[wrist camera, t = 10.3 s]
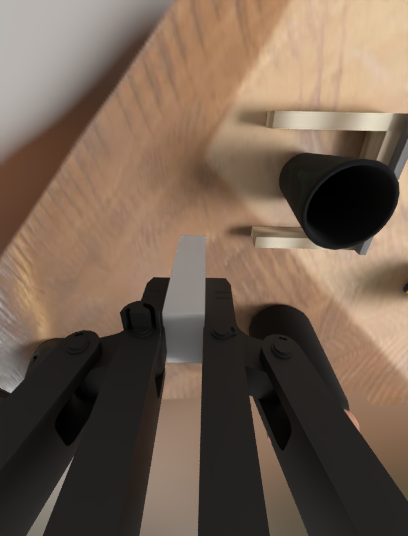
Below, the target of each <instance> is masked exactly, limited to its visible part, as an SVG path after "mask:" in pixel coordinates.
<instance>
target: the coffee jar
mask: <svg viewBox="0 0 408 536" xmlns="http://www.w3.org/2000/svg"><path fill="white" fill-rule="evenodd" d="M272 334H280V335H284V336H287V337H289V338H291V339H293V340H294V341H295V342H296V343H297V344H298V345H299V346H300V347H301V349H302V350H303V352H304V353H305V355H306V356H307V358H308V359H309V360H310V362H311V363H312V365H313V366H314V368H315V369H316V370H317V372H318V373H319V375H320V376H321V378H322V379H323V380H324V382H325V383H326V385H327V386H328V388H329V389H330V391H331V392H332V393H333V395H334V396H335V398H336V399H337V401H338V402H339V403H340V405H341V406H342V408H343V409H344V411H345V412H346V413H347V415H348V416H349V418H350V419H351V421H352V422H353V424H354V425H355V426H356V428H357V429H358V431H359V424H358V422H357V420H356V418H355V417H354V416H353V415H352V414H351V413H350V412H349V405H348V401H347V398H346V396H345V394H344V392H343V390H342V388H341V386H340V384H339V381H338V379H337V377H336V375H335V373H334V371H333V369H332V367H331V365H330V363H329V361H328V358H327V356H326V354H325V352H324V350H323V348H322V346H321V344H320V342H319V340H318V338H317V335H316V333H315V331H314V329H313V327H312V325H311V323H310V321H309V319H308V318H307V316H306V315H305V314H304V313H303V312H301V311H299V310H297V309H296V308H293V307H290V306H285V305H281V306H273V307H269V308H266V309H265V310H263V311H261V312H260V313H259V314H258V315H257V316H256V317H255V318H254V319H253V321H252V323H251V325H250V327H249V336H250V337H253V338H256V339H260V340H264V339H265V338H266V337H267V336H270V335H272ZM359 432H360V431H359ZM267 438H268V440H269V441H270V439H269V436H268V434H267ZM270 443H271V441H270Z"/></svg>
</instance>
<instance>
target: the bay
mask: <svg viewBox="0 0 408 536" xmlns="http://www.w3.org/2000/svg"><path fill="white" fill-rule="evenodd" d="M266 127H268V128H272V129H315V130H360V131H367V134H366V137H365V140H364V143H363V146H362V149H361V152H360V155H359V158H363V159H371V160H377V161H380V162H382V163H384V164H386V165H388V166H389V167H390V169H391V170H392V171H393V172H394V173H395V175H396V177H397V180H398V179H399V177H400V175H401V172H402V170H403V168H404V166H405V163H406V161H407V159H408V114H402V113H355V112H308V111H268V114H267V121H266ZM251 238H252V241H253V244H254V247H260V248H296V249H325V248H322V247H320V246H317V245H315V244H314V243H313V242H312V241H310V240H309V239H308V237H307V236H306V234H305V233H304V231H303V229H302V228H299V227H261V226H252V232H251ZM372 239H373V237H371V238H370V239H368V240H367V241H365V242H363V243H361V244H359V245H357V246H354V247H350V248H346V249H338V250H355V251H356V252H357V253H358V254H359V255H366V253H367V250H368V248H369V246H370V243H371V241H372Z"/></svg>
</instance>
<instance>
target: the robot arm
mask: <svg viewBox="0 0 408 536" xmlns="http://www.w3.org/2000/svg"><path fill="white" fill-rule="evenodd" d="M205 270H206V236H192V235H180V239H179V243H178V247H177V252H176V256H175V260H174V264H173V269H172V273H171V277H170V278H160V277H153V278H152V279H151V280H150V281H149V282H148V283H147V285H146V288H145V292H144V293H143V296H142V299H141V301H136V302H133V303H130V304H128V305H127V306H125V307H124V308H123V309H122V310H121V312H120V315H121V319H122V324H123V328H124V330H123V331H122V332H120V333H117V334H114V335H110V336H106V337H102V338H99V337H98V335H97V334H96V333H95V332H93V331H86V330H83V331H79V332H75V333H73V334H71V335H69V336H67V337H66V338H65V339H53V340H49V341H46V342H44V343H42V344H41V345H40V346H39V347H38V348H37V350H36V351H35V353H34V354H33V355H32V357H31V359H30V363H29V366H28V369H27V372H26V375H25V378H24V380H23V381H22V382H21V383H20V384H19V385H18V387H17V388H16V389H15V390H14V391H13V392H12V393H9V392H7V391H5V390H3V389H1V388H0V536H26V535H27V533H28V531H29V530H30V528H31V526H32V525H33V523H34V522H35V520H36V518H37V517H38V515H39V513H40V512H41V510H42V508H43V506H44V505H45V503H46V502H47V500H48V498H49V497H50V495H51V493H52V491H53V490H54V488H55V487H56V485H57V483H58V482H59V480H60V478H61V477H62V475H63V473H64V472H65V470H66V468H67V467H68V465H69V463H70V462H71V460H72V458H73V457H74V458H73V460H72V463H71V465H70V468H69V470H68V473H67V475H66V478H65V481H64V483H63V485H62V488H61V491H60V493H59V496H58V499H57V501H56V503H55V506H54V508H53V511H52V514H51V516H50V519H49V521H48V524H47V526H46V529H45V531H44V534H43V536H139V534H140V528H141V522H142V516H143V510H144V504H145V497H146V491H147V485H148V478H149V473H150V467H151V460H152V454H153V448H154V442H155V435H156V429H157V423H158V417H159V411H160V404H161V399H162V393H163V386H164V380H165V361H166V358H167V362H171V363H202V397H201V399H202V400H201V437H200V477H199V479H200V480H199V515H198V516H199V517H198V536H270V534H269V527H268V521H267V514H266V508H265V500H264V494H263V486H262V480H261V473H260V466H259V459H258V452H257V445H256V439H255V432H254V426H253V418H252V411H251V404H250V398H249V395H250V396H253V399H254V401H255V404H256V406H257V409H258V411H259V414H260V416H261V419H262V421H263V424H264V426H265V428H266V431H267V434H268V436H269V439H270V441H271V444H272V446H273V448H274V451H275V453H276V456H277V458H278V461H279V463H280V466H281V468H282V471H283V473H284V476H285V478H286V481H287V483H288V486H289V488H290V491H291V493H292V496H293V498H294V500H295V503H296V505H297V508H298V510H299V513H300V515H301V518H302V520H303V523H304V525H305V527H306V530H307V533H308V535H309V536H408V501H407V500H406V498H405V497H404V495H403V494H402V492H401V491H400V490H399V488H398V487H397V485H396V484H395V482H394V481H393V479H392V478H391V477H390V475H389V474H388V472H387V471H386V470H385V468H384V467H383V465H382V464H381V462H380V461H379V460H378V458H377V457H376V455H375V454H374V452H373V451H372V449H371V448H370V447H369V445H368V444H367V442H366V441H365V440H364V438H363V437H362V435H361V434H360V432H359V431H358V429H357V428H356V426H355V425H354V424H353V422H352V421H351V419H350V418H349V416H348V415H347V413H346V412H345V411H344V409H343V408H342V406H341V405H340V403H339V402H338V401H337V399H336V398H335V396H334V395H333V393H332V392H331V391H330V389H329V388H328V386H327V385H326V383H325V382H324V380H323V379H322V378H321V376H320V375H319V373H318V372H317V370H316V369H315V368H314V366H313V365H312V363H311V362H310V360H309V359H308V358H307V356H306V355H305V353H304V352H303V350H302V349H301V347H300V346H299V345H298V344H297V343H296V342H295V341H294V340H293V339H291V338H289V337H287V336H284V335H280V334H272V335H270V336H267V337H266V338H265V339H264V340H260V339H256V338H253V337H250V336H248V335H246V334H244V333H243V332H242V331H241V330H240V329H239V328H238V326H237V324H236V320H235V313H234V306H233V299H232V291H231V285H230V283H229V282H228V281H227V280H226V278H205Z"/></svg>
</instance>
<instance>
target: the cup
mask: <svg viewBox="0 0 408 536" xmlns="http://www.w3.org/2000/svg"><path fill="white" fill-rule="evenodd" d="M279 184H280V188H281V191H282V193H283V194H284V196H285V198H286V200H287V202H288V204H289V205H290V207H291V209H292V211H293V213H294V214H295V216H296V218H297V220H298V222H299V224H300V225H301V227H302V229H303V231H304V233H305V234H306V236H307V237H308V239H309V240H310V241H312V242H313V243H314V244H315V245H317V246H320V247H322V248H325V249H332V250H338V249H346V248H350V247H354V246H357V245H359V244H361V243H363V242H365V241H367V240H368V239H370V238H371V237H373V236H374V235H375V234H377V233H378V232H379V231H380V230H381V229H382V228H383V227H384V226H385V225H386V223H387V222H388V221H389V219H390V218H391V216H392V215H393V213H394V210H395V208H396V206H397V203H398V198H399V182H398V180H397V177H396V175H395V173H394V172H393V171H392V170H391V169H390V167H389V166H388V165H386V164H384V163H382V162H380V161H377V160H371V159H363V158H353V157H343V156H332V155H322V154H312V153H304V154H299V155H297V156H295V157H293V158H292V159H290V160H289V161H288V162H287V163H286V164H285V166H284V167H283V169H282V171H281V174H280V178H279Z"/></svg>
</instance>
